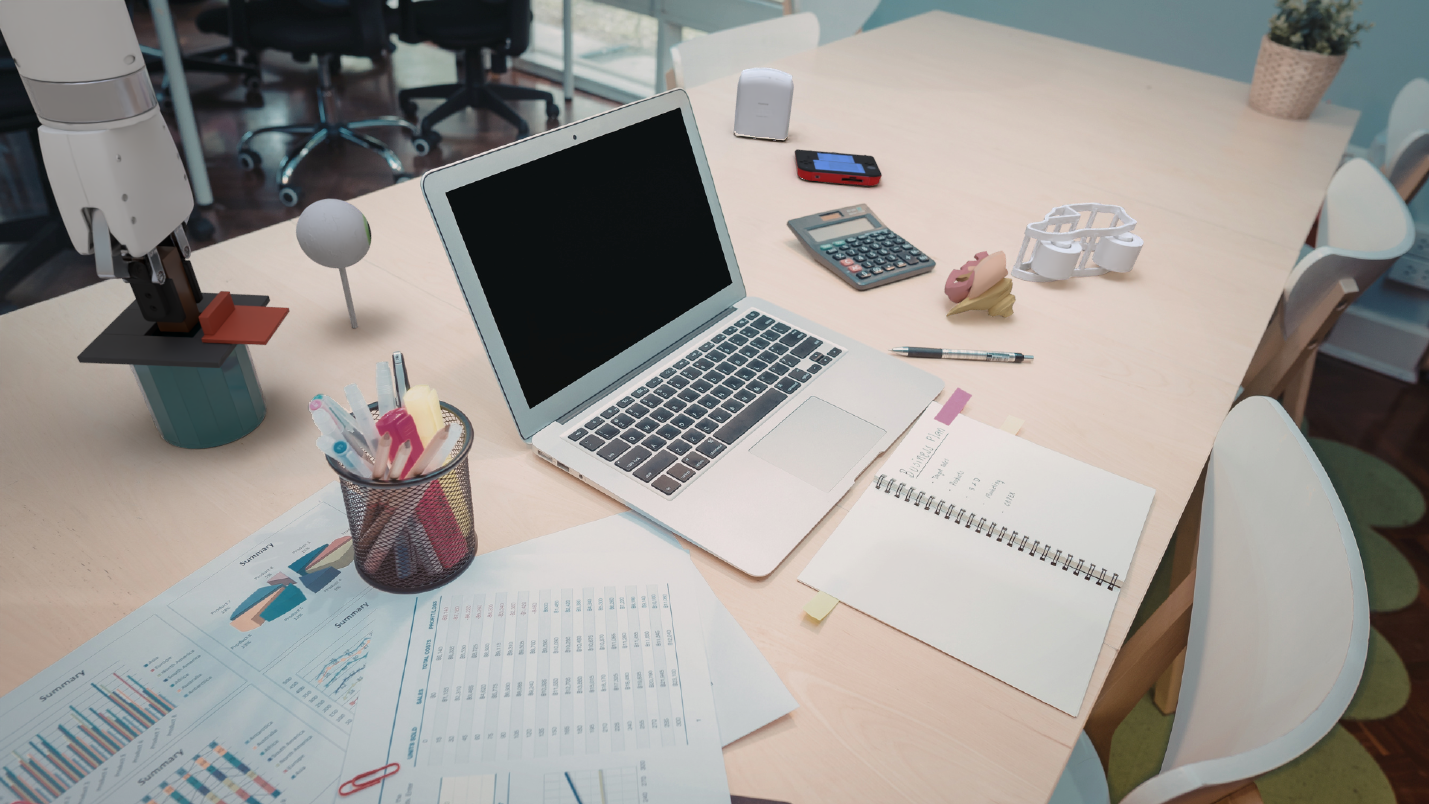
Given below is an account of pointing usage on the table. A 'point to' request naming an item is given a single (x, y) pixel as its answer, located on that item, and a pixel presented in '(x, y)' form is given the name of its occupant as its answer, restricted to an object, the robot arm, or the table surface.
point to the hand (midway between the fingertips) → (174, 309)
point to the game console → (837, 168)
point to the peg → (177, 273)
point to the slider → (239, 322)
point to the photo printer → (764, 103)
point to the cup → (203, 398)
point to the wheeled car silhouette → (1078, 245)
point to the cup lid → (160, 340)
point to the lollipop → (335, 239)
